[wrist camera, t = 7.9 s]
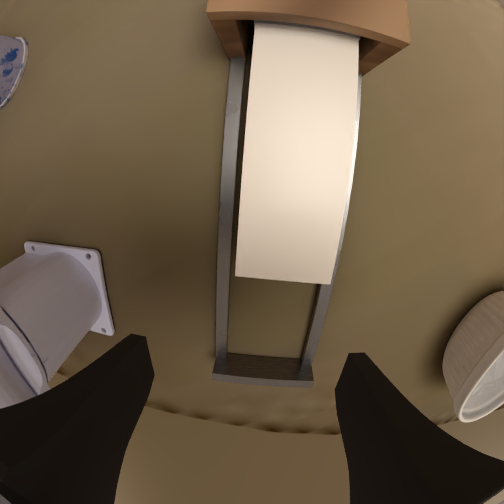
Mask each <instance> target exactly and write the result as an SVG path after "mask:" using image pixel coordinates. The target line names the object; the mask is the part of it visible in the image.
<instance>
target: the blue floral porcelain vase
mask: <svg viewBox="0 0 504 504" xmlns="http://www.w3.org/2000/svg"><path fill="white" fill-rule="evenodd" d="M27 57H28V43H27V41H26V40H25V38H20V37H16V38H12V37H7V36H2V35H0V109H1V108H2V107H4V106H5V105H6V104H7V103H8V101H9V100H10V99H11V97H12V96H13V94H14V92H15V91H16V89H17V87H18V85H19V83H20V80H21V78H22V76H23V73H24V69H25V66H26V63H27Z"/></svg>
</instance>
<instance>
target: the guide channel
mask: <svg viewBox="0 0 504 504" xmlns="http://www.w3.org/2000/svg"><path fill="white" fill-rule="evenodd" d="M245 71H246V58H245V57H231V65H230V75H229V85H228V96H227V107H226V118H225V131H224V144H223V158H222V174H221V191H220V209H219V231H218V258H217V295H216V360H215V364H214V368H213V372H212V380H217V381H224V382H233V383H242V384H252V385H264V386H279V387H305V388H311V387H312V385H313V382H314V380H313V373H312V367H311V366H312V362H313V359H314V356H315V352H316V349H317V346H318V342H319V339H320V335H321V331H322V328H323V324H324V320H325V316H326V313H327V309H328V305H329V301H330V296H331V292H332V288H333V284H334V279H335V275H336V270H337V266H338V261H339V256H340V251H341V246H342V241H343V236H344V230H345V225H346V219H347V213H348V207H349V201H350V194H351V188H352V180H353V173H354V165H355V157H356V148H357V138H358V127H359V114H360V99H361V76H362V74H361V73H358V91H357V108H356V121H355V133H354V143H353V152H352V161H351V169H350V177H349V185H348V192H347V198H346V205H345V211H344V217H343V223H342V229H341V234H340V240H339V245H338V250H337V255H336V260H335V265H334V270H333V274H332V279H331V283H330V284H318V289H317V294H316V298H315V303H314V307H313V312H312V316H311V320H310V325H309V329H308V333H307V337H306V341H305V345H304V349H303V353H302V357H301V359H293V358H277V357H264V356H252V355H242V354H233V353H227V346H228V321H229V298H230V278H231V259H232V241H233V225H234V209H235V194H236V179H237V165H238V152H239V139H240V127H241V115H242V103H243V92H244V81H245Z"/></svg>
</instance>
